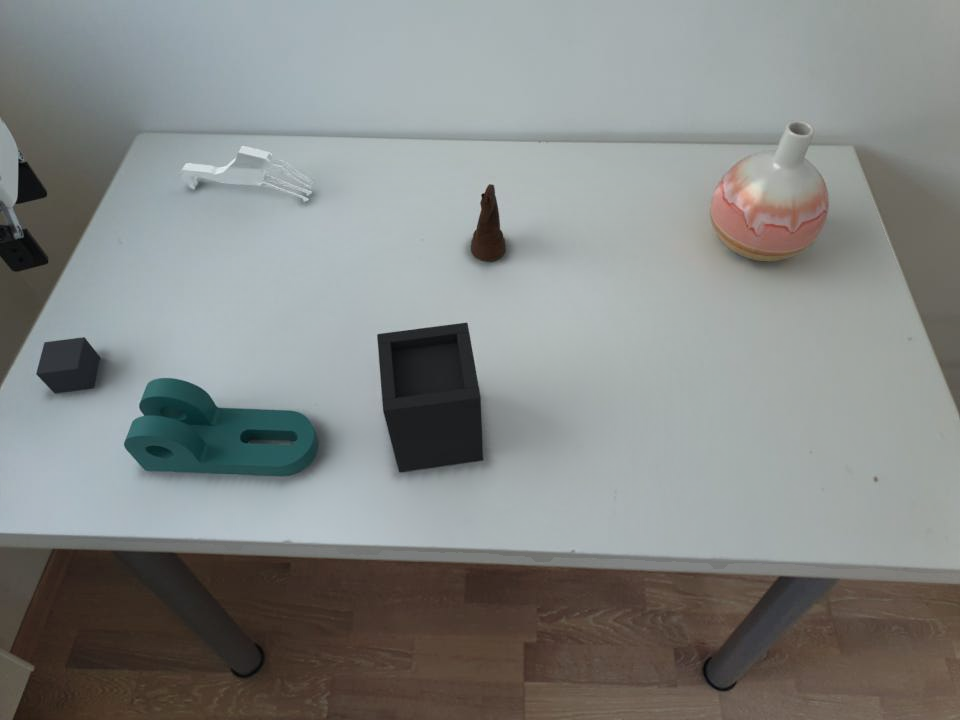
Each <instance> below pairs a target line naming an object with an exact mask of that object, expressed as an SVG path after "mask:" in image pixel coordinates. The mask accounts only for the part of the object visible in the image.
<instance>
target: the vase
mask: <svg viewBox="0 0 960 720" xmlns="http://www.w3.org/2000/svg"><path fill="white" fill-rule="evenodd" d="M814 134H815V129H814V127H813V125H811V123H809V122H807V121H804V120H799V119H798V120H797V119H796V120H792V121H789V122H788V123H787V124H786V125H785V127H784V129H783V132H782V134H781V136H780V139H779V142H778V144H777V146H776V149H770V150H769V149H768V150H763V151H759V152H756V153H753V154H750V155H747V156H746V157H744V158H742V159H740V160H739V161H737V162H736V163H735V164H733V165H732V166H730V168H729V169H728V170H727V171H726V172H725V173H724V174H723V175H722V177H721V178H720V179H719V181H718V183H717V184H716V186H715V188H714V189H713V190H714V191H713V193H712V196H711V200H710V208H709V217H710V222H711V225H712V228H713V231H714V232H715V234H716V236H717V238H718V239H719V240H720V241H721V242H722V244H723V245H724V246H725V247H726V248H728V249H729V250H730V251H732V252H733V253H735V254H737V255H739V256H741V257H743V258H745V259H749V260H754V261H759V262H777V261H783V260H786V259H789V258H792V257H794V256H796V255H798V254H800V253H802V252H803V251H805V250H806V249H808V248H809V247H810V246H811V245H812V244H813V243H814V242H815V241H816V239H817V238H819V236H820V234H821V232H822V231H823V229H824V227H825V225H826V221H827V218H828V214H829V207H830V198H829V197H830V196H829V191H828V187H827V183H826V181H825V179H824V177H823V175H822V174H821V173H820V171H819V170H818V169H817V167H816V166H815V165H814V164H813V163H812V162H810V161H809V160H808V159H807V158H805V157H806V155H807V152H808V149H809V147H810V145H811V141H812V140H813V137H814Z"/></svg>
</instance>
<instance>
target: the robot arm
mask: <svg viewBox="0 0 960 720" xmlns="http://www.w3.org/2000/svg"><path fill="white" fill-rule="evenodd" d="M47 197H48V190H47V188H46V187H45V186H44V184H43V183H42V181H41V180H40V179H39V177H38V175H37V174H36V173H35V171H34V169H33V168H32V166H31V165H30V164H29V162H28V161H25V156H24V154H23V151H22V150H21V149H20V148H19V147H18V146H17V143H16V140H15V138H14V137H13V135H12V132H11V131H10V129H9V128H8V126H7V124H6V122H4V119H3V118H2V117H1V116H0V212H2V215H3V217H4V219H5V221H6V224H0V258H1V259H2V260H3V262H4V263H5V264H6V266H7V267H8V268H9V269H10V270H11V271H12V272H15V273H18V272H22V271H26V270H30V269H34V268H38V267H42V266H45V265H48V264H49V256H48V254H46V252H45V251H44V249H43V248H42V247H41V246H40V244H39V243H38V242H37V240H36V239H35V238H34V236H33V235H32V234H31V232H30V231H29V230H28V228H22V226H21V223H20V221H19V219H18V217H17V215H16V212H15V210H14V208H13V207H14V206H15V205H21V204H25V203H29V202H33V201H37V200H41V199H45V198H47Z"/></svg>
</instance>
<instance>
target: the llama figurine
mask: <svg viewBox="0 0 960 720" xmlns="http://www.w3.org/2000/svg"><path fill="white" fill-rule="evenodd" d="M286 168H287V169H288V170H287V169H286ZM268 169H269V170H275V171H279V172H281V173H283V174H285V175H286V176H288V177H289V178H291V179H292V180H294V181H296V182H297V183H299V184H301V185H303V186H304V187H306V188H308V189H306V188H303V187H300V186H298V185H295V184H292V183H289V182H286V181H285V180H282V179H279V178H277V177H275V176H272V175H270V174H267V171H268ZM290 171H291V173H292V174H294V175H295V176H297V177H299V178H300V179H299V178H296V177H295V176H293V175H292V174H291V173H290ZM178 175H179V176H180V178H181V180H182V181H183V182H184V183H185V184H187V187H188V188H189V189H192V190H195V188H196V186H197V185H198V184H199V181H198V179H199V178H203V179H207V180H210V181H212V182H217V183H222V184H230V185H247V186H248V185H249V186H250V185H251V186H255V187H259V188H264V187H267V188H270V189H273V190H277V191H280V192H282V193H285V194H288V195H290V196H294V197H297V198H299V199H302V201H303V203H305V202H308V201H309V198H308V197H309V196H310V195H311V194H313V191H311V188H312V185H313V184H314V182H315V180H316V179H314V178H310V177H308V176H307V175H305V174H303V173H301V172H300V171H298V170H297V169H295V168H294V167H292V166H291V165H290V164H289V163H288V162H287V161H286V160H282V159H279V158H274V157H273V154H272V153H271V152H270V151H266V150H263V149H258V148H254V147H251V146H246V145H241V146H240V149H239V150H238V152H237V155H236V157H234V158H233V160H231V161H230V162H229V163H227V164H226V165H224V166H219V167H218V166H215V165H209V164H200V163H190V162H186V163H185V165H184V166H183V167H182V169H181V170H180V172H179V173H178ZM301 179H302V180H303V181H302V180H301ZM304 181H305V182H304ZM306 182H307V183H308V184H307V183H306ZM272 183H273V184H272ZM275 184H276V185H280V186H283V187H286V188H289V189H293V190H296V191H299V192H302V193H305V195H306V196H304V195H301V194H298V193H296V192H293V191H290V190H287V189H284V188H281V187H280V186H276V185H275Z"/></svg>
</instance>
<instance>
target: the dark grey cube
mask: <svg viewBox="0 0 960 720" xmlns="http://www.w3.org/2000/svg"><path fill="white" fill-rule="evenodd" d="M100 362H101V355H99V354H98V352H97V351H96V350H95V348H94V347H93V346H92V345H91V344H90V342H89V341H88V339H87V338H86V337H85V336H83V337H76V338H67V339H59V340H51V341H44V342H43V346H42V350H41V353H40V358H39V362H38V365H37V368H36V374H35V375H36V376H37V377H38V378H39V380H41V381H42V382H43V383H44V384H45V385H46V386H47V387H48V388H49V389H50V391H51V392H52V393H53V394H60V393H67V392H69V393H70V392H76V391H83V390H90V389H95V385H96V381H97V376H98V371H99V366H100Z"/></svg>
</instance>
